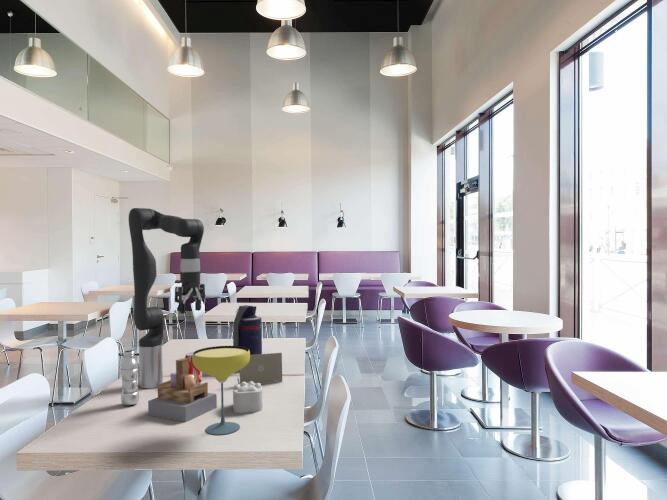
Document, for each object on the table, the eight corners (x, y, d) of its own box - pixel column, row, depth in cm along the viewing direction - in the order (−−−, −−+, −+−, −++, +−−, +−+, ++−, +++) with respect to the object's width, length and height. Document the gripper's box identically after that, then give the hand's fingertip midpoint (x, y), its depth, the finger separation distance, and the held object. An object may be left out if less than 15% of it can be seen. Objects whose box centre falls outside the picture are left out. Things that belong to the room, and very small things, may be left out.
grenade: (253, 363, 249) (252, 303, 248) (267, 368, 240) (266, 305, 239) (228, 369, 239) (227, 306, 239) (242, 373, 231) (241, 308, 230)
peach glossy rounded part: (182, 389, 177) (182, 376, 177) (189, 386, 180) (189, 374, 180) (189, 390, 175) (189, 377, 175) (196, 387, 178) (196, 375, 178)
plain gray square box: (148, 415, 176) (148, 400, 176) (181, 401, 190) (180, 388, 190) (185, 421, 168) (185, 407, 168) (216, 407, 183) (216, 393, 182)
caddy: (157, 398, 178) (156, 360, 178) (175, 391, 186) (175, 355, 186) (190, 403, 172) (189, 364, 172) (207, 396, 180) (207, 358, 180)
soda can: (181, 385, 212) (180, 354, 212) (192, 381, 219) (191, 351, 219) (195, 387, 210) (194, 356, 210) (205, 382, 216) (204, 352, 216)
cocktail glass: (254, 435, 155) (253, 354, 155) (194, 442, 150) (192, 359, 150) (247, 416, 173) (246, 343, 172) (193, 422, 167) (191, 347, 167)
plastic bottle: (121, 408, 183) (120, 354, 183) (120, 403, 189) (119, 350, 189) (140, 405, 186) (139, 351, 186) (138, 400, 192) (137, 348, 192)
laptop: (278, 375, 227) (277, 347, 227) (282, 383, 215) (282, 352, 215) (237, 379, 222) (237, 349, 222) (239, 386, 210) (239, 355, 210)
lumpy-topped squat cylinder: (233, 414, 175) (232, 389, 175) (233, 402, 188) (232, 379, 188) (263, 411, 177) (262, 387, 177) (261, 400, 190) (260, 377, 190)
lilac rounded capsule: (168, 387, 180) (168, 374, 180) (175, 384, 183) (175, 372, 183) (176, 388, 178) (175, 375, 178) (182, 385, 181) (182, 373, 181)
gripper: (195, 269, 203) (195, 308, 204) (169, 271, 190) (169, 313, 191) (210, 269, 200) (210, 310, 200) (184, 271, 187) (184, 315, 187)
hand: (190, 311), depth 196 cm, fingers open, 8 cm apart
